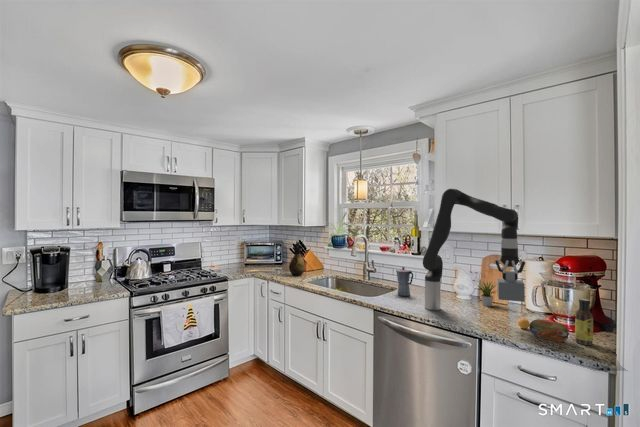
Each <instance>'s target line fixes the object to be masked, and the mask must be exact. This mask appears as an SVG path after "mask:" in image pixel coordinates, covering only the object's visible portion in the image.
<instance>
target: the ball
mask: <svg viewBox="0 0 640 427" xmlns="http://www.w3.org/2000/svg"><path fill="white" fill-rule="evenodd" d="M530 323H531V322H530V321H529V320H528V319H526V318H519V319H518V322H517V324H518V326H519V327H520V328H522V329H524V330H525V329H528V328H529V325H530Z"/></svg>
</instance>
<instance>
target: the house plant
mask: <svg viewBox="0 0 640 427" xmlns="http://www.w3.org/2000/svg"><path fill="white" fill-rule="evenodd" d="M481 282H482V284H483V285H482V284H481V283H480V282H479V281H477V283H479V284H476V286H477V287H478V290H480V291H481V293H482V294H481V295H480V297H481V305H482V306H484V307H492V305H493V301H494V296H493V295H492V294H496V291H495V290H493V289H494V288H495V287H497V283H496V284H495V283H493V280H492V281H489V283H488V282H486V283H485V282H484V281H482V280H481Z"/></svg>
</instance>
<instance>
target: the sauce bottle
mask: <svg viewBox="0 0 640 427" xmlns="http://www.w3.org/2000/svg"><path fill="white" fill-rule="evenodd" d="M578 304H579V306H578V309H577V311H576V312H575V320H574V322H575V324H574V339H575V340H574V341H575V342H576V343H577V344H580V345H584V346H592V345H593V342H594V316H593V313H592V312H591V310H590V306H591V300H590V299H586V298H578Z"/></svg>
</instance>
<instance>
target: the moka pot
mask: <svg viewBox="0 0 640 427" xmlns="http://www.w3.org/2000/svg"><path fill="white" fill-rule="evenodd" d="M395 272H396V278H397V281H398V285H397V287H398V288H397V295H398V296H401V297H409V296H411V291H410V285H412V282H413V278H414V273H413V272H412V270H407V269H405V267H404V266H402V267H401V269H397V270H395ZM410 276H411V277H410Z"/></svg>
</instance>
